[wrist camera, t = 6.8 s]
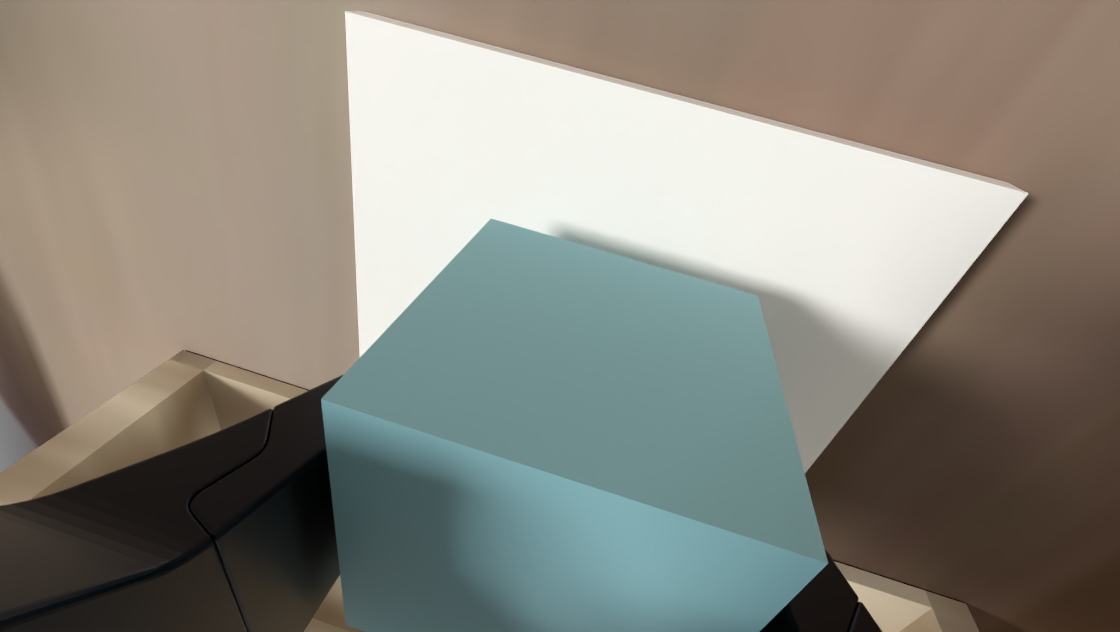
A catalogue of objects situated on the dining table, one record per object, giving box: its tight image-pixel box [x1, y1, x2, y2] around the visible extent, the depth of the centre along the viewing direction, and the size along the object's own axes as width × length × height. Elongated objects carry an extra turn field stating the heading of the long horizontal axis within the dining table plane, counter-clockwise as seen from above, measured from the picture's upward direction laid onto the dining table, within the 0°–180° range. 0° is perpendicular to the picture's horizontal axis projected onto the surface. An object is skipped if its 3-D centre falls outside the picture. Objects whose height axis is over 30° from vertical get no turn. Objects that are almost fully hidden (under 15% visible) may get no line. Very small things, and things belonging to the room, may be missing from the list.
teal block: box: [321, 219, 828, 632], centre depth 8 cm, size 5×5×5 cm
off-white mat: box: [345, 11, 1029, 473], centre depth 11 cm, size 10×12×1 cm
